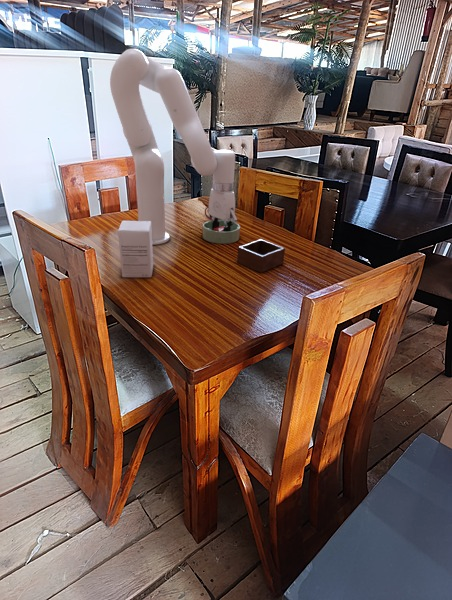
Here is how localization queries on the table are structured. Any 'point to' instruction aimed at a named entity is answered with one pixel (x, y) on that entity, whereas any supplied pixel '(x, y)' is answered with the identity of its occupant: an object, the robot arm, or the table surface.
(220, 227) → the red small block
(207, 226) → the bowl
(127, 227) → the white product box
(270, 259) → the box
